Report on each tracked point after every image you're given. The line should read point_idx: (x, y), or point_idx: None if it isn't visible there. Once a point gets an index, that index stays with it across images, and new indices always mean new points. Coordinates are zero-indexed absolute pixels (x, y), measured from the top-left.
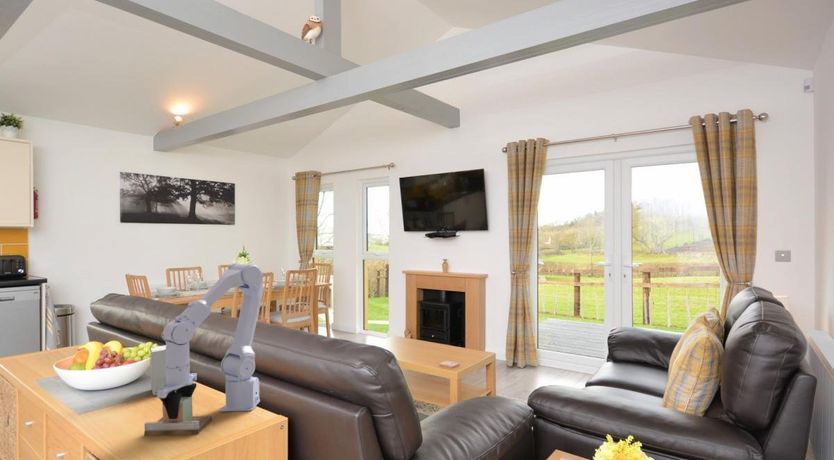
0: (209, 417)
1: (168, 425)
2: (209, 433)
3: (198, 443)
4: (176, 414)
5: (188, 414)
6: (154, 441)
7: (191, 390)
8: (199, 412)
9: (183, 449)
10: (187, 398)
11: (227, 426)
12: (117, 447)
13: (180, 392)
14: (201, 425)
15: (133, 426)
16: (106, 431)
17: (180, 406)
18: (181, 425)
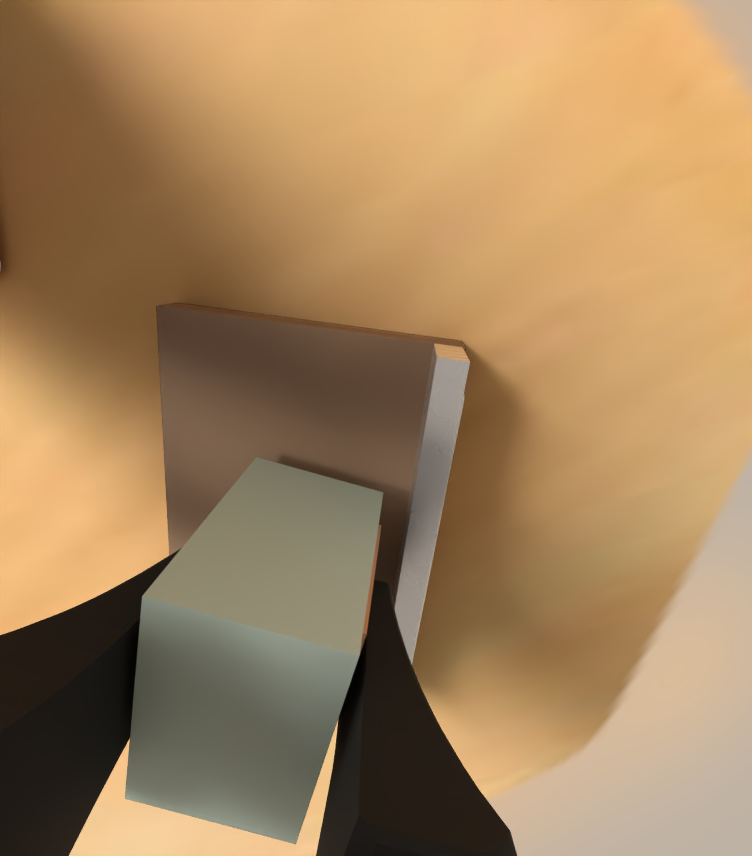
0: (195, 320)
1: (424, 597)
2: (469, 236)
3: (665, 274)
4: (391, 608)
5: (299, 504)
6: (505, 602)
7: (55, 693)
8: (30, 455)
9: (740, 368)
10: (199, 639)
11: (338, 86)
12: (528, 750)
13: (83, 787)
14: (372, 341)
15: None
16: (301, 836)
17: (363, 640)
18: (443, 501)
